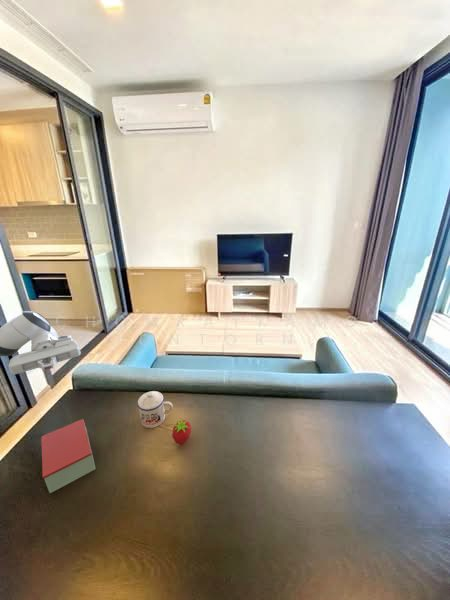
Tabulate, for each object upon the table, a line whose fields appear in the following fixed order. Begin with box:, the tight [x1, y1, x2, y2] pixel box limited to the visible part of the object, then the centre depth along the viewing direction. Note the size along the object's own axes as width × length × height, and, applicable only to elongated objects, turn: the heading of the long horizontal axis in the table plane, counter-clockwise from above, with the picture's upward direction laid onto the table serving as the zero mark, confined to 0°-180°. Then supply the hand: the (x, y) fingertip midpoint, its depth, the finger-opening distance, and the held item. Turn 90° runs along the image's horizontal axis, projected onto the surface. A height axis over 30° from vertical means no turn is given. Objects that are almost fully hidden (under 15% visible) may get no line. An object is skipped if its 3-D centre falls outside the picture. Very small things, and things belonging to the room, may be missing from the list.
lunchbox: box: [43, 422, 96, 494], centre depth 76 cm, size 15×12×7 cm
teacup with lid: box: [137, 390, 173, 429], centre depth 90 cm, size 12×9×12 cm
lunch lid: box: [40, 418, 93, 480], centre depth 74 cm, size 15×12×1 cm
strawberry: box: [172, 419, 192, 446], centre depth 81 cm, size 6×8×10 cm
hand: (47, 367), depth 81 cm, fingers closed
